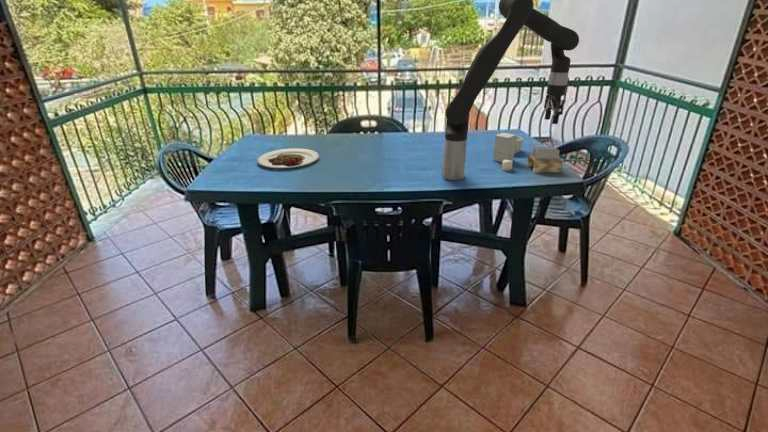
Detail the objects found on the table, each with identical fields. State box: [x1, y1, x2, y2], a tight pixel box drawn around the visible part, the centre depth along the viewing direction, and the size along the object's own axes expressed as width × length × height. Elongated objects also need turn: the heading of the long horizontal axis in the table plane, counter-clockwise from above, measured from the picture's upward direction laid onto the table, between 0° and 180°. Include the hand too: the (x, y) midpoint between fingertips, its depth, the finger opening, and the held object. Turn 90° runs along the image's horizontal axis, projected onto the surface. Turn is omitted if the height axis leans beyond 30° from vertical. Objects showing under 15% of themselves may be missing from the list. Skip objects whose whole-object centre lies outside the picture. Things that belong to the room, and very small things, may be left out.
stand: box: [526, 154, 564, 173], centre depth 188 cm, size 12×10×5 cm
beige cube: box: [501, 160, 514, 172], centre depth 188 cm, size 4×4×4 cm
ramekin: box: [514, 135, 524, 155], centre depth 212 cm, size 13×13×7 cm
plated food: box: [256, 148, 320, 169], centre depth 205 cm, size 30×30×3 cm
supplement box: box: [492, 132, 517, 163], centre depth 198 cm, size 7×7×13 cm
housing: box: [531, 146, 560, 160], centre depth 186 cm, size 10×5×4 cm, turn 89°
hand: (550, 121), depth 179 cm, fingers open, 8 cm apart
